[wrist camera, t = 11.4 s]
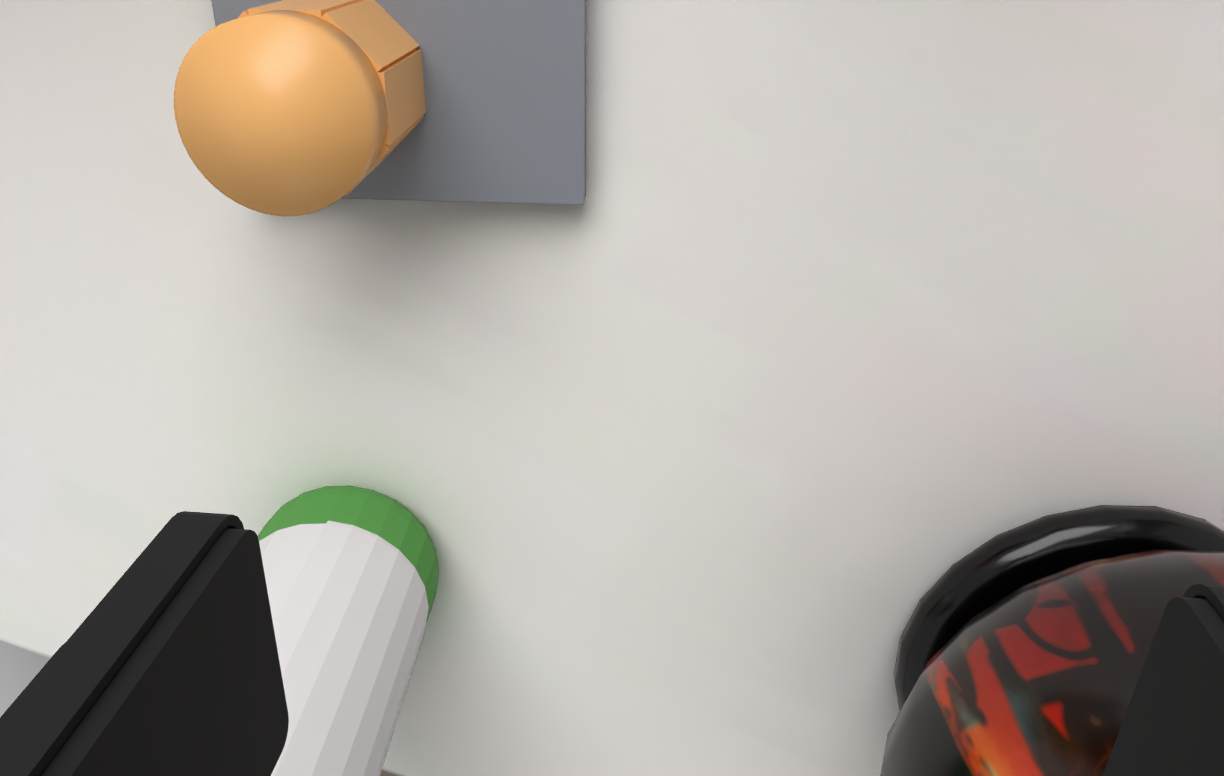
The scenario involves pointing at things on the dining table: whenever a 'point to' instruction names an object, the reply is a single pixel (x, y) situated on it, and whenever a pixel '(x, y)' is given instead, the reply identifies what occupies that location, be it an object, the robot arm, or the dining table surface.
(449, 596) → the dining table surface
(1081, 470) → the dining table surface
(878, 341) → the dining table surface
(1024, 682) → the black vase
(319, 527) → the wine bottle
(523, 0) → the board
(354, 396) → the dining table surface
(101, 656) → the robot arm
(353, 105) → the orange dome-topped faceted piece
